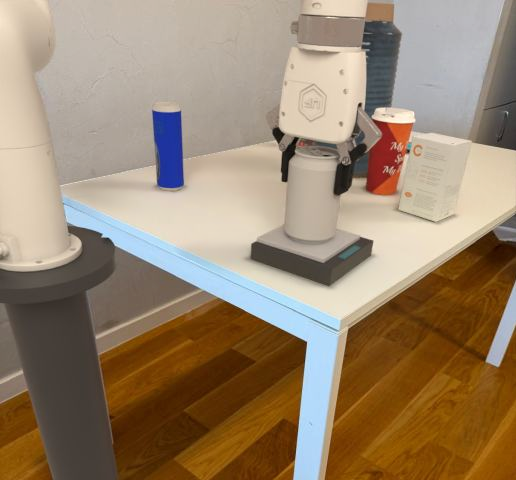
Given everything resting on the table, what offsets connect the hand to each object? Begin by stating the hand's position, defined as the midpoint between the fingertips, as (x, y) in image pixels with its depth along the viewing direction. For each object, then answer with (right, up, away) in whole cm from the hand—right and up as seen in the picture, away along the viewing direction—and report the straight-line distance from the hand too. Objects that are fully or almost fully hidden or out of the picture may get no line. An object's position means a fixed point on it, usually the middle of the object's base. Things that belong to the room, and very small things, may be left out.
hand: (314, 185), depth 69 cm
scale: (0, -9, +5) cm, 10 cm away
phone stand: (+28, +29, +64) cm, 76 cm away
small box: (+23, +2, +24) cm, 33 cm away
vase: (+13, +19, +47) cm, 52 cm away
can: (0, -6, +4) cm, 7 cm away
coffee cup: (+17, +10, +34) cm, 40 cm away
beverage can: (-25, +9, +30) cm, 40 cm away
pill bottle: (+5, +30, +63) cm, 69 cm away
